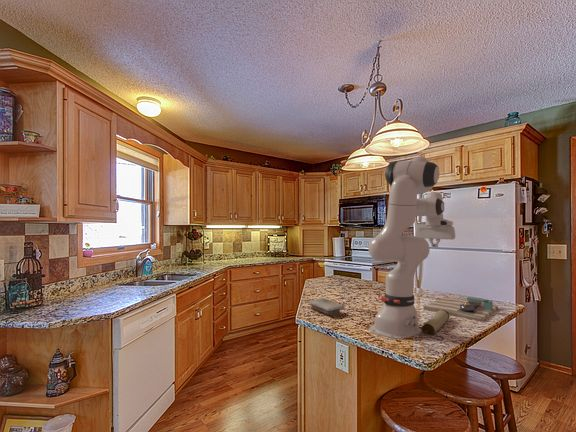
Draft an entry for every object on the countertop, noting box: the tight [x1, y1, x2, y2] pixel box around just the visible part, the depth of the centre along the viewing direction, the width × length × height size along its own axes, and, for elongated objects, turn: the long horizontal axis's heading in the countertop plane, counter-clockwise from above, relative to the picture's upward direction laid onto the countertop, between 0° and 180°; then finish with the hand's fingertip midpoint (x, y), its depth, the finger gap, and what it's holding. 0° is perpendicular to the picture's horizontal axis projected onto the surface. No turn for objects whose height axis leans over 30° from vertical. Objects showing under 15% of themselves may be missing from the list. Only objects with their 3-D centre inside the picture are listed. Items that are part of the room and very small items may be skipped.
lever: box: [460, 300, 483, 312], centre depth 153 cm, size 21×6×3 cm, turn 135°
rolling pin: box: [421, 310, 451, 336], centre depth 130 cm, size 32×6×5 cm, turn 139°
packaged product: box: [307, 297, 345, 316], centre depth 152 cm, size 18×5×10 cm
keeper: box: [466, 296, 493, 311], centre depth 153 cm, size 3×10×4 cm, turn 44°
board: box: [423, 296, 499, 322], centre depth 157 cm, size 29×26×2 cm
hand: (434, 247), depth 167 cm, fingers closed
